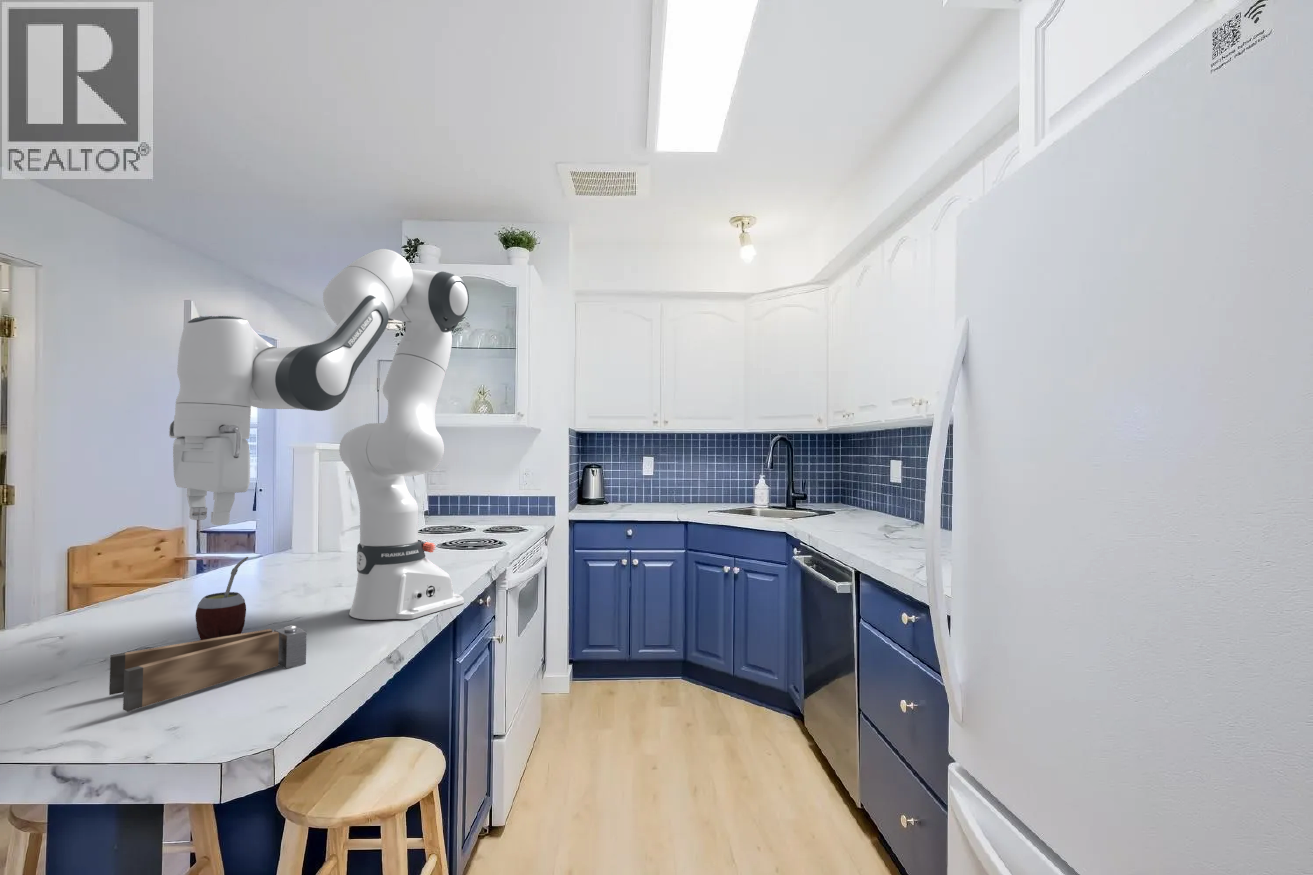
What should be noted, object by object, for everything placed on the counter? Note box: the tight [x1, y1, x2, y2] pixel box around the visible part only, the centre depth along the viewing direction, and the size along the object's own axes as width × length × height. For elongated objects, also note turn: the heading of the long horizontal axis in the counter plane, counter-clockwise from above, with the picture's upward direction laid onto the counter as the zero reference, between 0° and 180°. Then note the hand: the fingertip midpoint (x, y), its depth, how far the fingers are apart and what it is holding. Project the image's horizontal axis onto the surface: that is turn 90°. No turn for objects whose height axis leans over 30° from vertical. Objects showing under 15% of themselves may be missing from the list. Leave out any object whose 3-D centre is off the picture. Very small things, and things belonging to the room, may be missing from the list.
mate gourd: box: [194, 556, 249, 640], centre depth 105 cm, size 8×8×15 cm
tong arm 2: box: [122, 631, 279, 712], centre depth 84 cm, size 18×1×5 cm, turn 152°
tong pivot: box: [273, 624, 307, 670], centre depth 95 cm, size 3×5×6 cm, turn 52°
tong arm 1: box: [108, 628, 273, 696], centre depth 87 cm, size 18×1×5 cm, turn 132°
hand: (208, 522), depth 87 cm, fingers open, 8 cm apart
